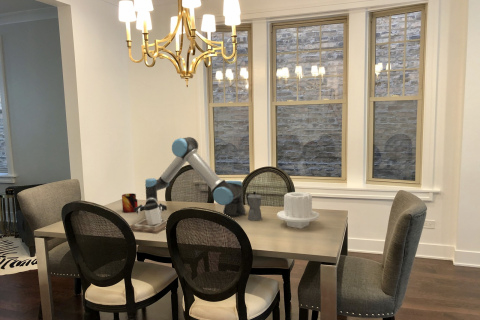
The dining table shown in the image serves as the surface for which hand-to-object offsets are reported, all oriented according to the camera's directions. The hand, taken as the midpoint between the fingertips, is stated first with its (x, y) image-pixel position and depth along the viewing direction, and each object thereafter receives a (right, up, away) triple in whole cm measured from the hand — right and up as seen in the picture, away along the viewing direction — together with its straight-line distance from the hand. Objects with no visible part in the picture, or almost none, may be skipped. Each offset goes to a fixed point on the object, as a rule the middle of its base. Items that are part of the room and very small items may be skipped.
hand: (150, 212), depth 235 cm
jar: (+4, -7, -2) cm, 8 cm away
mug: (-21, -5, +37) cm, 43 cm away
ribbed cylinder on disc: (+91, -7, -6) cm, 91 cm away
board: (+1, -9, -2) cm, 9 cm away
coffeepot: (+65, -6, +11) cm, 66 cm away
